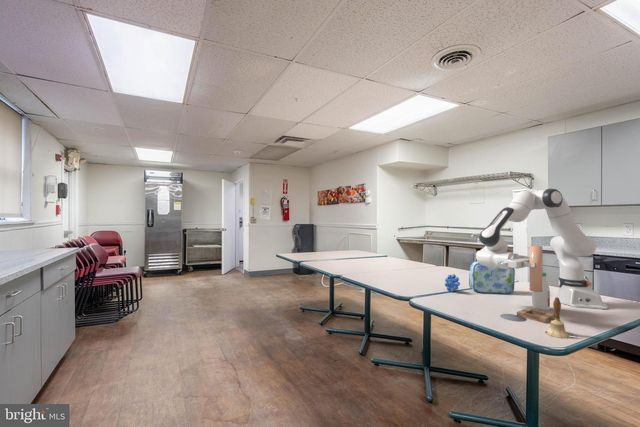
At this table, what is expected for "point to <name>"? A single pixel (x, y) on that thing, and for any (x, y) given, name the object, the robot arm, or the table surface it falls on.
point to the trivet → (513, 317)
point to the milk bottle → (542, 296)
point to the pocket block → (536, 315)
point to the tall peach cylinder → (536, 269)
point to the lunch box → (491, 279)
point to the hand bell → (557, 323)
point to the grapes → (452, 283)
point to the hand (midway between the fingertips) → (538, 264)
